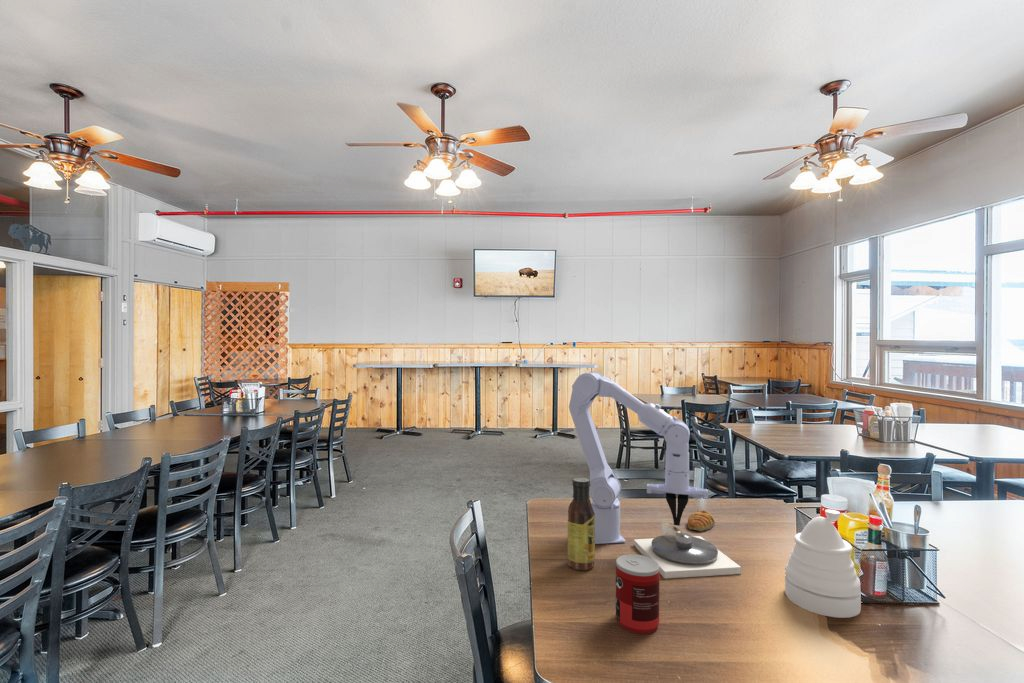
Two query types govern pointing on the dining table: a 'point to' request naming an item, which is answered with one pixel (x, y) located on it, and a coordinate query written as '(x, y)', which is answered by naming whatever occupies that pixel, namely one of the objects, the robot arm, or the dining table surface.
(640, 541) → the base
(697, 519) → the pastry
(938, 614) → the dining table surface
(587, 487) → the sauce bottle
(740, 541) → the dining table surface
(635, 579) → the canned food
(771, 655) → the dining table surface
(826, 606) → the honey pot
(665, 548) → the handwheel
